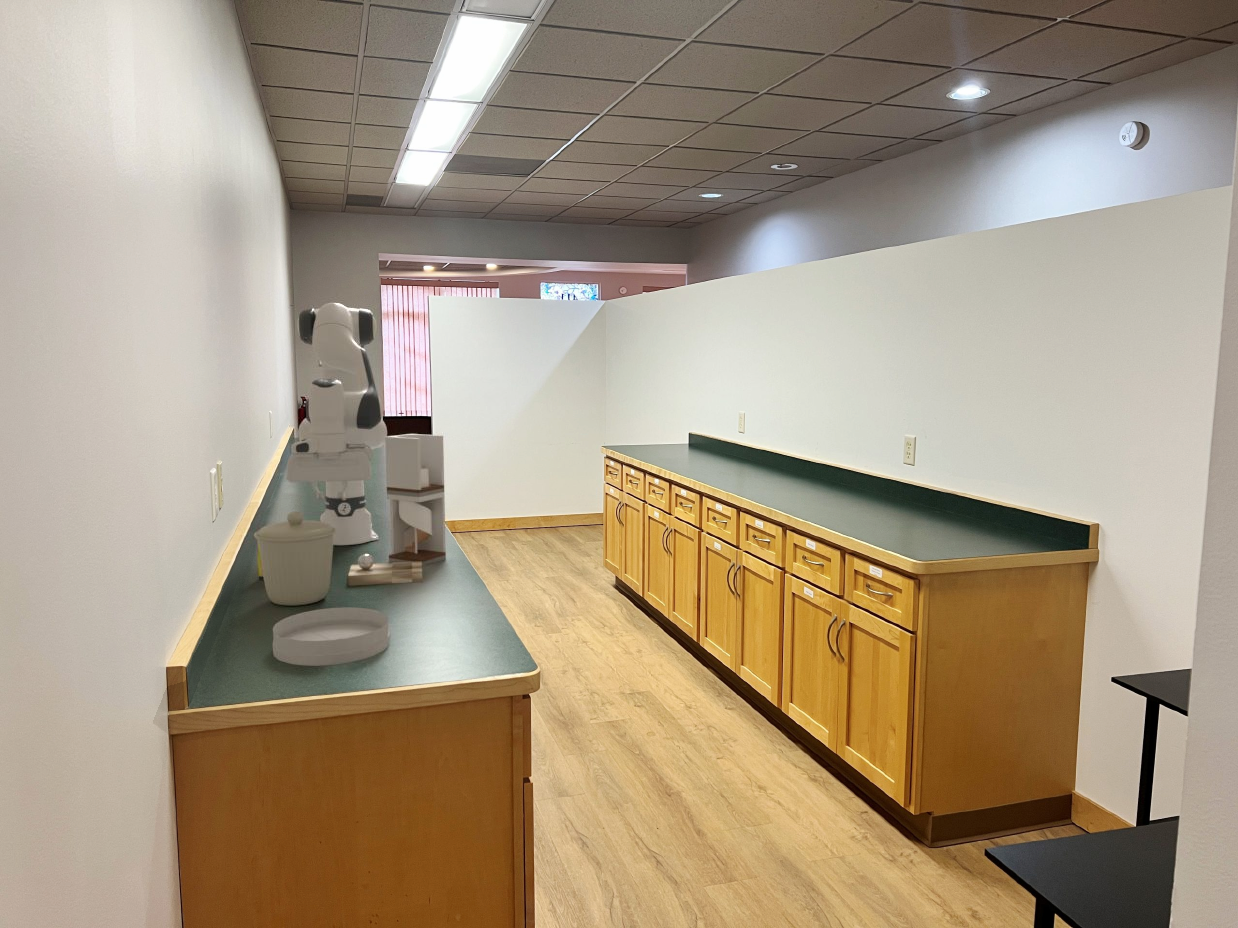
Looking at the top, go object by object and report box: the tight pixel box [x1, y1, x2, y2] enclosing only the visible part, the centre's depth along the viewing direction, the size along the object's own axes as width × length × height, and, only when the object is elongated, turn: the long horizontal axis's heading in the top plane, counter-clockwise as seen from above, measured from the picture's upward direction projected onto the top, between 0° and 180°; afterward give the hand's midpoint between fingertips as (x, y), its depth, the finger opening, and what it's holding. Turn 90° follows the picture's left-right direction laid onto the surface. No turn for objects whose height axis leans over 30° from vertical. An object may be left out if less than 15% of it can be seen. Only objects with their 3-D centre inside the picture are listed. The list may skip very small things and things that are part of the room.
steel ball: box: [357, 553, 375, 570], centre depth 226 cm, size 4×4×4 cm
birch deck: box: [347, 561, 423, 587], centre depth 227 cm, size 12×18×2 cm, turn 103°
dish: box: [272, 606, 391, 667], centre depth 174 cm, size 22×22×5 cm
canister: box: [253, 511, 337, 607], centre depth 205 cm, size 18×18×21 cm
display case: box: [384, 433, 447, 567], centre depth 245 cm, size 11×11×35 cm
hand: (330, 498), depth 222 cm, fingers open, 4 cm apart
